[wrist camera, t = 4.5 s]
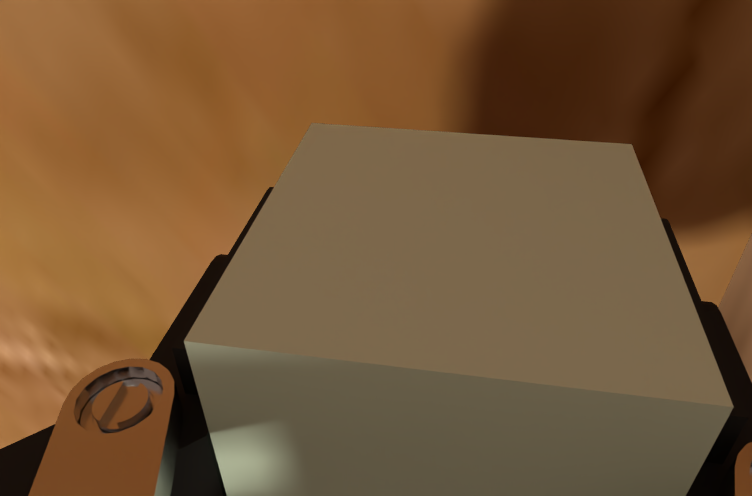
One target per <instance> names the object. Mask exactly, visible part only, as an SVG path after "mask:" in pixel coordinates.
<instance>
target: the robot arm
mask: <svg viewBox="0 0 752 496" xmlns="http://www.w3.org/2000/svg"><path fill="white" fill-rule="evenodd" d="M273 188H274V187H270V188H269V189H268V190H267V191H266V193H265V195H264V196H263V198H262V200H261V201H260V203H259V205H258V206H257V208H256V209H255V211H254V213H253V214H252V216H251V218H250V219H249V221H248V223H247V224H246V226H245V228H244V229H243V231H242V233H241V234H240V236H239V238H238V239H237V241H236V242H235V244H234V246H233V247H232V249H231V251H230V252H229V254H228V255H222V254H220V255H218V256H216V257H215V258H214V259H213V261H212V262H211V263H210V265H209V267H208V268H207V270H206V271H205V273H204V274H203V276H202V278H201V279H200V281H199V282H198V284H197V286H196V287H195V289H194V290H193V292H192V293H191V295H190V297H189V298H188V300H187V301H186V303H185V304H184V306H183V308H182V309H181V311H180V312H179V314H178V316H177V317H176V319H175V320H174V322H173V323H172V325H171V327H170V328H169V330H168V331H167V333H166V335H165V336H164V338H163V339H162V341H161V342H160V344H159V346H158V347H157V349H156V350H155V352H154V353H153V355H152V357H151V358H150V360H148V359H126V360H121V361H116V362H113V363H110V364H108V365H105V366H103V367H100V368H98V369H96V370H95V371H93V372H92V373H90V374H89V375H87V376H85V377H84V378H83V379H82V380H81V381H80V382H79V383H78V384H77V385H76V386H75V387H74V388H73V389H72V390H71V391H70V393H69V394H68V396H67V398H66V400H65V401H64V403H63V406H62V408H61V411H60V413H59V416H58V419H57V421H56V424H54V425H52V426H50V427H48V428H46V429H44V430H41V431H39V432H37V433H35V434H33V435H30V436H28V437H26V438H24V439H22V440H20V441H17V442H15V443H13V444H11V445H9V446H6V447H4V448H2V449H0V496H227V495H226V491H225V487H224V484H223V480H222V477H221V473H220V469H219V466H218V462H217V459H216V455H215V451H214V448H213V444H212V441H211V437H210V434H209V430H208V426H207V423H206V419H205V416H204V412H203V408H202V405H201V401H200V398H199V394H198V390H197V387H196V383H195V380H194V376H193V372H192V369H191V365H190V362H189V358H188V354H187V351H186V347H185V344H184V340H185V338H186V336H187V335H188V333H189V331H190V330H191V328H192V326H193V325H194V323H195V321H196V319H197V318H198V316H199V314H200V313H201V311H202V309H203V307H204V306H205V304H206V302H207V301H208V299H209V297H210V296H211V294H212V292H213V290H214V289H215V287H216V285H217V284H218V282H219V280H220V279H221V277H222V275H223V273H224V272H225V270H226V268H227V267H228V265H229V263H230V262H231V260H232V258H233V256H234V255H235V253H236V251H237V250H238V248H239V246H240V244H241V243H242V241H243V239H244V238H245V236H246V234H247V233H248V231H249V229H250V227H251V226H252V224H253V222H254V221H255V219H256V217H257V216H258V214H259V212H260V210H261V209H262V207H263V205H264V204H265V202H266V200H267V198H268V197H269V195H270V193H271V192H272V190H273ZM661 221H662V224H663V226H664V229H665V231H666V234H667V236H668V239H669V242H670V244H671V247H672V249H673V252H674V254H675V257H676V260H677V262H678V265H679V267H680V270H681V273H682V275H683V278H684V280H685V283H686V285H687V288H688V291H689V293H690V296H691V298H692V301H693V303H694V306H695V309H696V311H697V314H698V316H699V319H700V322H701V324H702V327H703V329H704V332H705V334H706V337H707V340H708V342H709V345H710V347H711V350H712V352H713V355H714V358H715V360H716V363H717V365H718V368H719V371H720V373H721V376H722V378H723V381H724V383H725V386H726V389H727V391H728V394H729V396H730V399H731V401H732V404H733V409H732V411H731V413H730V415H729V417H728V419H727V420H726V422H725V424H724V426H723V428H722V430H721V431H720V433H719V435H718V437H717V439H716V441H715V443H714V444H713V446H712V448H711V450H710V452H709V454H708V455H707V457H706V459H705V461H704V463H703V465H702V467H701V468H700V470H699V472H698V474H697V476H696V478H695V479H694V481H693V483H692V485H691V487H690V489H689V491H688V492H687V494H686V496H752V382H751V380H750V378H749V375H748V373H747V371H746V368H745V366H744V364H743V362H742V359H741V357H740V355H739V352H738V350H737V348H736V346H735V343H734V341H733V339H732V337H731V334H730V332H729V330H728V327H727V325H726V323H725V321H724V318H723V316H722V314H721V312H720V310H719V309H718V307H717V305H715V304H713V303H712V302H704V301H701V299H700V297H699V294H698V292H697V289H696V287H695V284H694V282H693V280H692V277H691V275H690V272H689V270H688V267H687V265H686V262H685V260H684V258H683V255H682V253H681V250H680V248H679V245H678V243H677V240H676V238H675V235H674V233H673V231H672V228H671V226H670V223H669V222H668V220H667V219H662V218H661Z"/></svg>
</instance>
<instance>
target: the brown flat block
mask: <svg viewBox="0 0 752 496" xmlns="http://www.w3.org/2000/svg"><path fill="white" fill-rule="evenodd" d="M718 309H719V310H720V312H721V314H722V316H723V318H724V321H725V323H726V325H727V327H728V330H729V332H730V334H731V337H732V339H733V341H734V343H735V346H736V348H737V350H738V352H739V355H740V357H741V359H742V362H743V364H744V366H745V368H746V371H747V373H748V375H749V378H750V380H751V382H752V234H751V236H750V238H749V241H748V243H747V245H746V247H745V249H744V252H743V254H742V256H741V258H740V261H739V263H738V265H737V267H736V269H735V272H734V274H733V276H732V278H731V281H730V283H729V285H728V287H727V289H726V292H725V294H724V296H723V298H722V301H721V303H720V305H719V307H718Z"/></svg>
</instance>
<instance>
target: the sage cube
mask: <svg viewBox="0 0 752 496" xmlns="http://www.w3.org/2000/svg"><path fill="white" fill-rule="evenodd" d="M184 344H185V347H186V351H187V354H188V358H189V362H190V365H191V369H192V372H193V376H194V380H195V383H196V387H197V390H198V394H199V398H200V401H201V405H202V408H203V412H204V416H205V419H206V423H207V426H208V430H209V434H210V437H211V441H212V444H213V448H214V451H215V455H216V459H217V462H218V466H219V469H220V473H221V477H222V480H223V484H224V487H225V491H226V495H227V496H686V494H687V492H688V491H689V489H690V487H691V485H692V483H693V481H694V479H695V478H696V476H697V474H698V472H699V470H700V468H701V467H702V465H703V463H704V461H705V459H706V457H707V455H708V454H709V452H710V450H711V448H712V446H713V444H714V443H715V441H716V439H717V437H718V435H719V433H720V431H721V430H722V428H723V426H724V424H725V422H726V420H727V419H728V417H729V415H730V413H731V411H732V409H733V404H732V401H731V399H730V396H729V394H728V391H727V389H726V386H725V383H724V381H723V378H722V376H721V373H720V371H719V368H718V365H717V363H716V360H715V358H714V355H713V352H712V350H711V347H710V345H709V342H708V340H707V337H706V334H705V332H704V329H703V327H702V324H701V322H700V319H699V316H698V314H697V311H696V309H695V306H694V303H693V301H692V298H691V296H690V293H689V291H688V288H687V285H686V283H685V280H684V278H683V275H682V273H681V270H680V267H679V265H678V262H677V260H676V257H675V254H674V252H673V249H672V247H671V244H670V242H669V239H668V236H667V234H666V231H665V229H664V226H663V224H662V221H661V218H660V216H659V213H658V211H657V208H656V206H655V203H654V200H653V198H652V195H651V193H650V190H649V187H648V185H647V182H646V180H645V177H644V175H643V172H642V169H641V167H640V164H639V162H638V159H637V157H636V154H635V151H634V149H633V146H632V144H622V143H607V142H591V141H576V140H561V139H546V138H531V137H516V136H500V135H485V134H470V133H455V132H440V131H424V130H409V129H394V128H379V127H364V126H349V125H333V124H318V123H312V124H311V125H310V127H309V129H308V130H307V132H306V134H305V135H304V137H303V139H302V141H301V142H300V144H299V146H298V147H297V149H296V151H295V153H294V154H293V156H292V158H291V159H290V161H289V163H288V164H287V166H286V168H285V170H284V171H283V173H282V175H281V176H280V178H279V180H278V181H277V183H276V185H275V187H274V188H273V190H272V192H271V193H270V195H269V197H268V198H267V200H266V202H265V204H264V205H263V207H262V209H261V210H260V212H259V214H258V216H257V217H256V219H255V221H254V222H253V224H252V226H251V227H250V229H249V231H248V233H247V234H246V236H245V238H244V239H243V241H242V243H241V244H240V246H239V248H238V250H237V251H236V253H235V255H234V256H233V258H232V260H231V262H230V263H229V265H228V267H227V268H226V270H225V272H224V273H223V275H222V277H221V279H220V280H219V282H218V284H217V285H216V287H215V289H214V290H213V292H212V294H211V296H210V297H209V299H208V301H207V302H206V304H205V306H204V307H203V309H202V311H201V313H200V314H199V316H198V318H197V319H196V321H195V323H194V325H193V326H192V328H191V330H190V331H189V333H188V335H187V336H186V338H185V340H184Z"/></svg>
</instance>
